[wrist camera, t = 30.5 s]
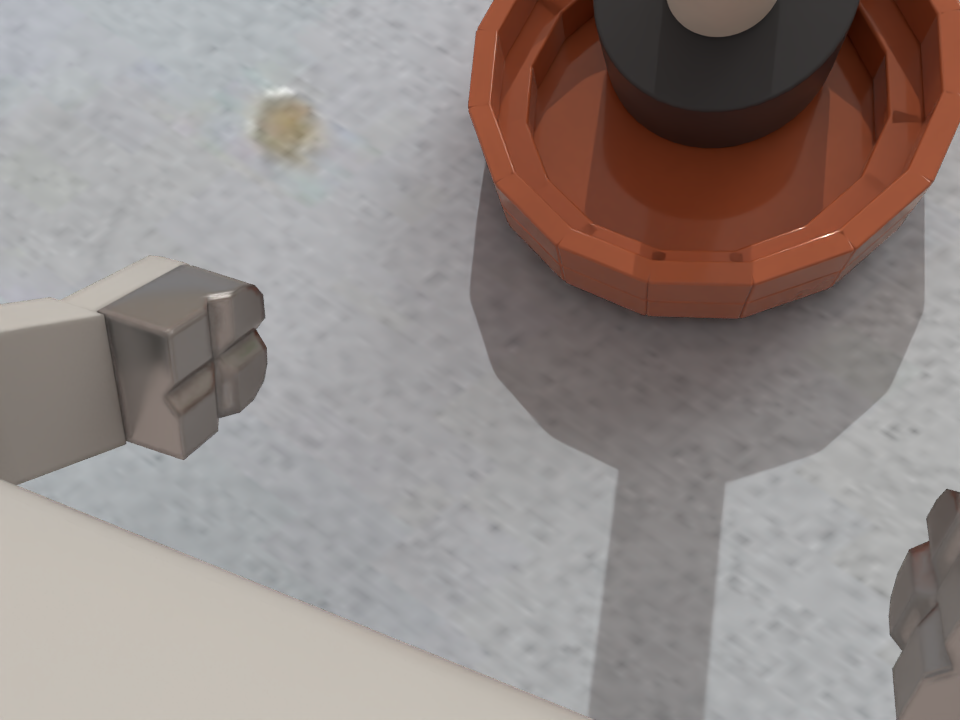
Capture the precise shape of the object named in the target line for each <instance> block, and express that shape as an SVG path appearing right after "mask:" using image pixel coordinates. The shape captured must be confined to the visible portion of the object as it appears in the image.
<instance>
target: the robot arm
mask: <svg viewBox="0 0 960 720" xmlns="http://www.w3.org/2000/svg"><path fill="white" fill-rule="evenodd" d="M264 319H265V309H264V299H263V294H262V293H261V292H260V291H259V289H258V288H257V287H256V286H255V285H253V284H249V283H246V282H243V281H240V280H237V279H234V278H230V277H227V276H224V275H221V274H218V273H215V272H211V271H208V270H205V269H202V268H199V267H196V266H190V265H189V264H187V263H184V262H180V261H176V260H173V259H169V258H165V257H160V256H151V255H149V256H147V257H145V258H143V259H141V260H139V261H137V262H135V263H133V264H131V265H129V266H127V267H125V268H123V269H121V270H119V271H117V272H115V273H113V274H111V275H109V276H107V277H105V278H103V279H101V280H99V281H97V282H95V283H93V284H91V285H89V286H87V287H85V288H83V289H81V290H79V291H77V292H75V293H73V294H71V295H69V296H67V297H65V298H63V299H61V300H57V299H54V298H51V297H48V298H41V299H34V300H27V301H20V302H13V303H6V304H0V720H594V719H592V718H589V717H587V716H584V715H582V714H579V713H577V712H574V711H572V710H570V709H567V708H565V707H562V706H560V705H557V704H555V703H552V702H550V701H547V700H545V699H543V698H540V697H538V696H535V695H533V694H530V693H528V692H525V691H523V690H520V689H518V688H516V687H513V686H511V685H508V684H506V683H503V682H501V681H498V680H496V679H494V678H491V677H489V676H486V675H484V674H481V673H479V672H476V671H474V670H471V669H469V668H466V667H464V666H461V665H459V664H456V663H454V662H452V661H449V660H447V659H444V658H442V657H439V656H437V655H434V654H432V653H429V652H427V651H424V650H422V649H419V648H417V647H414V646H412V645H409V644H407V643H405V642H402V641H400V640H397V639H395V638H392V637H390V636H387V635H385V634H382V633H380V632H377V631H375V630H372V629H370V628H367V627H365V626H362V625H360V624H358V623H355V622H353V621H350V620H348V619H345V618H343V617H340V616H338V615H335V614H333V613H330V612H328V611H325V610H323V609H320V608H318V607H315V606H313V605H311V604H308V603H306V602H303V601H301V600H298V599H296V598H293V597H291V596H288V595H286V594H283V593H281V592H278V591H276V590H273V589H271V588H268V587H266V586H264V585H261V584H259V583H256V582H254V581H251V580H249V579H246V578H244V577H241V576H239V575H236V574H234V573H231V572H229V571H226V570H224V569H222V568H219V567H217V566H214V565H212V564H209V563H207V562H204V561H202V560H199V559H197V558H194V557H192V556H189V555H187V554H184V553H182V552H180V551H177V550H175V549H172V548H170V547H167V546H165V545H162V544H160V543H157V542H155V541H152V540H150V539H147V538H145V537H143V536H140V535H138V534H135V533H133V532H130V531H128V530H125V529H123V528H120V527H118V526H115V525H113V524H110V523H108V522H105V521H103V520H101V519H98V518H96V517H93V516H91V515H88V514H86V513H83V512H81V511H78V510H76V509H73V508H71V507H68V506H66V505H64V504H61V503H59V502H56V501H54V500H51V499H49V498H46V497H44V496H41V495H39V494H36V493H34V492H31V491H29V490H27V489H24V488H22V487H19V486H17V485H18V484H21V483H24V482H26V481H29V480H32V479H34V478H37V477H40V476H42V475H45V474H48V473H50V472H53V471H56V470H58V469H61V468H64V467H66V466H69V465H72V464H74V463H77V462H80V461H82V460H85V459H88V458H90V457H93V456H96V455H99V454H101V453H104V452H107V451H109V450H112V449H115V448H117V447H120V446H123V445H125V444H126V441H128V442H131V443H134V444H137V445H140V446H143V447H146V448H149V449H152V450H155V451H158V452H161V453H164V454H167V455H170V456H173V457H176V458H179V459H182V460H185V459H186V458H187V457H188V456H189V455H190V454H192V453H193V452H194V451H195V450H196V449H198V448H199V447H200V446H201V445H202V444H203V443H205V442H206V441H207V440H208V439H209V438H211V437H212V436H213V435H214V434H215V433H216V432H218V425H219V418H222V417H225V416H229V415H232V414H236V413H240V412H241V411H242V410H243V409H244V408H245V407H247V406H248V405H249V404H250V403H251V402H252V401H253V400H254V399H255V397H256V395H257V393H258V391H259V389H260V388H261V386H262V384H263V382H264V379H265V374H266V368H267V347H266V345H265V344H264V342H263V340H262V339H261V337H260V335H259V334H258V332H257V330H256V329H257V328H258V326H259V325H260V324H261V323H262V321H263V320H264ZM926 521H927V528H928V536H929V541H928V542H925V543H923V544H921V545H918V546H916V547H914V548H911V549H909V551H908V553H907V555H906V557H905V559H904V561H903V563H902V565H901V567H900V569H899V571H898V573H897V577H896V580H895V584H894V587H893V591H892V594H891V599H890V609H889V629H890V636H891V637H892V638H893V640H894V641H895V642H896V643H897V645H898V646H899V647H900V649H901V650H902V653H901V654H900V656H899V658H898V660H897V661H896V663H895V665H894V667H893V668H892V672H893V684H894V696H895V708H896V720H960V492H957V491H953V490H949V489H946V490H945V491H944V492H943V493H942V494H941V495H940V496H939V498H938V499H937V500H936V502H935V503H934V505H933V507H932V509H931V510H930V512H929V514H928V516H927V518H926Z"/></svg>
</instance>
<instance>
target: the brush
mask: <svg viewBox="0 0 960 720" xmlns="http://www.w3.org/2000/svg"><path fill="white" fill-rule="evenodd" d="M859 2H860V0H593V7H594V18H595V23H596V28H597V32H598V36H599V40H600V44H601V47H602V51H603V55H604V59H605V63H606V66H607V70H608V74H609V77H610V80H611V83H612V86H613V88H614V90H615V92H616V94H617V96H618V98H619V100H620V101H621V103H622V104H623V105H624V107H625V108H626V110H627V111H628V112H629V113H630V114H631V115H632V116H633V117H634V118H635V119H636V120H637V121H638V122H639V123H640V124H641V125H643V126H644V127H645V128H647V129H648V130H649V131H651V132H653V133H655V134H656V135H658V136H660V137H662V138H664V139H667V140H669V141H672V142H674V143H678V144H682V145H686V146H690V147H699V148H723V147H731V146H737V145H741V144H744V143H748V142H751V141H754V140H757V139H759V138H762V137H764V136H766V135H768V134H770V133H772V132H774V131H776V130H778V129H779V128H781V127H782V126H784V125H785V124H787V123H788V122H789V121H791V120H792V119H794V118H795V117H796V116H797V115H798V114H799V113H800V112H801V111H802V110H804V109H805V108H806V106H807V105H808V104H809V103H810V102H811V101H812V100H813V98H814V97H815V96H816V95H817V93H818V92H819V90H820V89H821V87H822V86H823V84H824V83H825V81H826V79H827V77H828V75H829V73H830V71H831V69H832V67H833V65H834V62H835V60H836V58H837V56H838V53H839V51H840V49H841V47H842V44H843V42H844V40H845V38H846V35H847V33H848V31H849V29H850V26H851V24H852V22H853V19H854V17H855V14H856V11H857V8H858V5H859Z"/></svg>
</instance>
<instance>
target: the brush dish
mask: <svg viewBox="0 0 960 720" xmlns="http://www.w3.org/2000/svg"><path fill="white" fill-rule="evenodd" d="M468 109H469V114H470V117H471V120H472V123H473V126H474V129H475V131H476V134H477V137H478V140H479V143H480V146H481V149H482V151H483V154H484V157H485V160H486V163H487V166H488V169H489V171H490V174H491V177H492V180H493V183H494V186H495V188H496V191H497V194H498V197H499V200H500V203H501V205H502V208H503V211H504V214H505V217H506V220H507V222H508V223H509V225H510V227H511V228H512V229H513V230H514V231H515V232H516V233H517V234H518V235H519V236H520V237H521V238H522V239H523V240H524V241H525V242H526V243H527V244H528V245H529V246H530V247H531V248H532V249H533V250H534V251H535V252H536V253H537V254H538V255H539V256H540V257H541V259H542V260H543V261H544V262H545V263H546V264H547V265H548V266H549V267H550V268H551V269H552V270H553V271H554V272H555V273H556V274H557V275H558V276H559V277H560V278H561V279H562V280H564V281H565V282H566V283H568V284H570V285H573V286H575V287H577V288H580V289H582V290H585V291H587V292H589V293H592V294H594V295H596V296H599V297H601V298H604V299H606V300H608V301H611V302H613V303H615V304H618V305H620V306H622V307H625V308H627V309H630V310H632V311H634V312H637V313H639V314H641V315H646V314H647V315H648V316H662V317H696V318H730V319H737V318H739V317H740V318H745V317H748V316H750V315H753V314H756V313H759V312H762V311H765V310H768V309H771V308H774V307H776V306H779V305H782V304H785V303H788V302H791V301H794V300H797V299H800V298H802V297H805V296H808V295H811V294H814V293H817V292H820V291H823V290H826V289H828V288H829V287H832V286H834V285H835V284H836V283H837V282H838V281H839V280H840V279H842V278H843V277H844V276H845V275H846V274H847V273H848V272H850V271H851V270H852V269H853V268H854V267H855V266H856V265H858V264H859V263H860V262H861V261H862V260H863V259H864V258H866V257H867V256H868V255H869V254H870V253H871V252H872V251H874V250H875V249H876V248H877V247H878V246H879V245H880V244H882V243H883V242H884V241H885V240H886V239H887V238H888V237H890V236H891V235H892V234H893V233H894V232H895V231H896V230H898V229H899V227H900V226H901V225H902V223H903V222H904V221H905V219H906V218H907V217H908V215H909V214H910V213H911V211H912V210H913V208H914V207H915V206H916V204H917V203H918V202H919V200H920V199H921V198H922V196H923V195H924V194H925V192H926V191H927V190H928V188H929V187H930V186H931V184H932V183H933V182H934V180H935V178H936V175H937V173H938V171H939V169H940V166H941V164H942V162H943V160H944V157H945V155H946V153H947V150H948V148H949V146H950V144H951V141H952V139H953V137H954V135H955V132H956V130H957V128H958V125H959V123H960V2H959V0H860V2H859V5H858V8H857V11H856V14H855V17H854V19H853V22H852V24H851V26H850V29H849V31H848V33H847V35H846V38H845V40H844V42H843V44H842V47H841V49H840V51H839V53H838V56H837V58H836V60H835V62H834V65H833V67H832V69H831V71H830V73H829V75H828V77H827V79H826V81H825V83H824V84H823V86H822V87H821V89H820V90H819V92H818V93H817V95H816V96H815V97H814V98H813V100H812V101H811V102H810V103H809V104H808V105H807V106H806V108H805V109H804V110H802V111H801V112H800V113H799V114H798V115H797V116H796V117H795V118H794V119H792V120H791V121H789V122H788V123H787V124H785V125H784V126H782V127H781V128H779V129H778V130H776V131H774V132H772V133H770V134H768V135H766V136H764V137H762V138H759V139H757V140H754V141H751V142H748V143H744V144H741V145H737V146H731V147H723V148H699V147H690V146H686V145H682V144H678V143H674V142H672V141H669V140H667V139H664V138H662V137H660V136H658V135H656V134H655V133H653V132H651V131H649V130H648V129H647V128H645V127H644V126H643V125H641V124H640V123H639V122H638V121H637V120H636V119H635V118H634V117H633V116H632V115H631V114H630V113H629V112H628V111H627V110H626V108H625V107H624V105H623V104H622V103H621V101H620V100H619V98H618V96H617V94H616V92H615V90H614V88H613V86H612V83H611V80H610V77H609V74H608V70H607V66H606V63H605V59H604V55H603V51H602V47H601V44H600V40H599V36H598V32H597V28H596V23H595V18H594V7H593V0H493V2H492V4H491V6H490V7H489V9H488V11H487V13H486V15H485V16H484V18H483V20H482V22H481V23H480V25H479V27H478V29H477V31H476V36H475V45H474V55H473V64H472V73H471V82H470V92H469V101H468Z"/></svg>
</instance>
